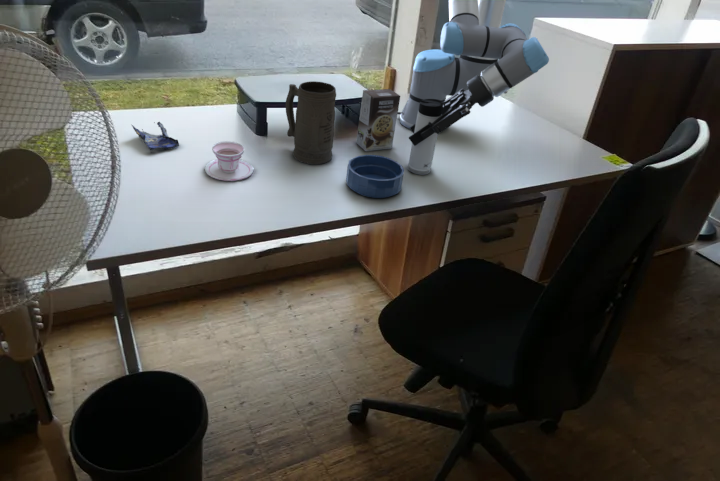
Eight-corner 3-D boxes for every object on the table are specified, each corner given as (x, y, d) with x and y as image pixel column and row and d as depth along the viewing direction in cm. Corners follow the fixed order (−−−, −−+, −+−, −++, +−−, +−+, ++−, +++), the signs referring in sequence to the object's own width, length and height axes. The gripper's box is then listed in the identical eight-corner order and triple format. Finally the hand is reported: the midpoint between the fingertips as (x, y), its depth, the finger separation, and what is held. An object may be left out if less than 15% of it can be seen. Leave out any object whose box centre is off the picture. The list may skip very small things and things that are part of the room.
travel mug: (430, 177, 153) (444, 106, 142) (406, 172, 154) (419, 101, 143) (432, 167, 158) (446, 98, 147) (409, 163, 159) (421, 94, 148)
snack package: (177, 134, 157) (132, 134, 154) (176, 114, 153) (130, 113, 149) (180, 160, 149) (132, 160, 145) (179, 139, 145) (130, 139, 141)
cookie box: (365, 151, 162) (372, 97, 153) (355, 142, 167) (361, 89, 158) (392, 148, 166) (401, 95, 157) (382, 139, 171) (389, 87, 162)
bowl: (334, 182, 144) (336, 163, 141) (371, 168, 153) (374, 150, 150) (375, 205, 137) (378, 186, 134) (411, 189, 146) (415, 170, 143)
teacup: (201, 161, 145) (200, 139, 142) (247, 158, 150) (247, 137, 146) (209, 183, 136) (208, 160, 133) (258, 179, 141) (258, 157, 137)
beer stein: (341, 155, 158) (343, 84, 148) (323, 169, 150) (324, 94, 139) (293, 144, 163) (292, 74, 153) (273, 156, 155) (271, 84, 144)
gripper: (498, 110, 135) (419, 162, 144) (492, 86, 151) (421, 133, 160) (481, 85, 132) (402, 139, 142) (476, 63, 148) (405, 113, 158)
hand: (412, 136), depth 151 cm, fingers closed on travel mug, 6 cm apart
